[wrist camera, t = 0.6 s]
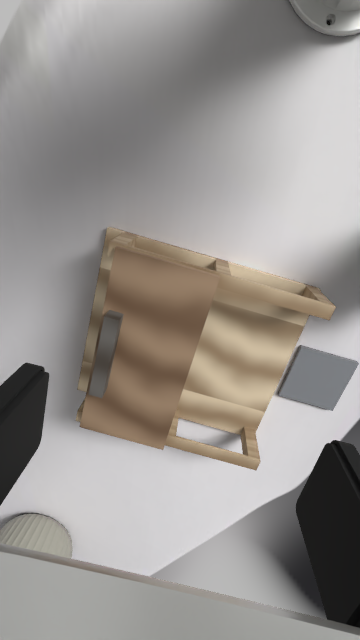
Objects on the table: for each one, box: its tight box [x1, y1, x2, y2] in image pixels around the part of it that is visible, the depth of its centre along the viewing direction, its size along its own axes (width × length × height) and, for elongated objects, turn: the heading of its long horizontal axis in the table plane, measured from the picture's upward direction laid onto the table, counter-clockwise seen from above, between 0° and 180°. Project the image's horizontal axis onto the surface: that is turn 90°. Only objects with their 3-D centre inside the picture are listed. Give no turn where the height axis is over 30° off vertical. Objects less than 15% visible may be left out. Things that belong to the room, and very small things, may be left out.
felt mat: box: [278, 345, 359, 411], centre depth 47 cm, size 8×8×1 cm
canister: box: [0, 514, 72, 559], centre depth 54 cm, size 18×18×21 cm
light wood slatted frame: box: [76, 227, 336, 470], centre depth 43 cm, size 24×27×7 cm
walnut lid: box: [80, 246, 220, 450], centre depth 38 cm, size 24×11×3 cm, turn 165°
